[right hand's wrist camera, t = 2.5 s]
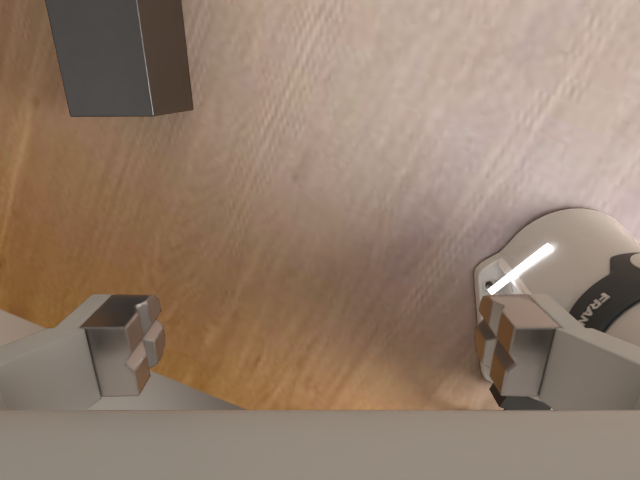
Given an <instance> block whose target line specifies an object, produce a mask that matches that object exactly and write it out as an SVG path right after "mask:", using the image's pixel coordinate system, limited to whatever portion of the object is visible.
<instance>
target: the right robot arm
mask: <svg viewBox="0 0 640 480" xmlns="http://www.w3.org/2000/svg"><path fill="white" fill-rule="evenodd" d="M487 281H490V283H489V284H488V285H485V283H486V282H487ZM474 282H475V296H476V310H477V324H478V325H477V326H476V331H475V347H476V351H477V355H478V357H479V359H480V366H481V373H482V375H483V376H484V377H485V379H486V380H488V381H489V382H491V383H493V385H492V386H491V387H490V391H491V393H492V395H493V397H494V398H495V400H496V402H497V404H498V406H499V407H501V408H504V410H87V409H88V408H89V407H91V406H92V405H93V404H95V403H96V402H97V401H99V400H100V399H101V397H116V396H139V395H140V393H141V391H142V390H143V388H144V386H145V385H146V383H147V381H148V379H149V378H150V370H149V369H150V368H152V367H153V366H155V365H156V364H158V363H159V361H160V359H161V357H162V355H163V351H164V347H165V331H164V326H163V325H162V324H161V323H160V322H159V321H158V320H157V319H156V318H157V317H158V315H159V314H160V312H161V307H160V302H159V299H158V298H157V296H156V295H130V294H116V295H115V294H95V295H91V296H90V297H89V298H88V299H86V300H85V301H84V302H83V303H82V304H81V305H80V306H79V307H77V308H76V309H75V310H74V311H73V312H72V313H71V314H70V315H69V316H67V317H66V318H65V319H64V320H63V321H62V322H61V323H60V324H58V325H57V326H56V327H55V328H47V329H44V330H42V331H40V332H37V333H34V334H32V335H29V336H27V337H24V338H22V339H19V340H17V341H14V342H12V343H9V344H7V345H4V346H2V347H0V480H640V244H639V243H638V242H637V241H636V240H634V239H633V238H632V237H631V236H630V235H629V234H628V233H627V232H626V230H625V229H624V228H623V227H622V226H621V224H620V223H619V222H617V221H616V220H615V219H614V218H612V217H611V216H609V215H607V214H605V213H602V212H599V211H596V210H592V209H584V208H573V209H565V210H560V211H556V212H553V213H550V214H547V215H545V216H543V217H540V218H538V219H537V220H535V221H533V222H531V223H530V224H529V225H527V226H526V227H524V228H523V229H522V230H521V231H520V232H518V233H517V234H516V235H515V236H514V237H513V239H512V240H511V241H510V242H509V243H508V244H507V245H506V246H505V247H504V248H503V249H502V250H501V251H500V252H499V253H497V254H495V255H493V256H491V257H489V258H488V259H486V260H484V261H483V262H481V263H480V264H479V265H478V266H477V267H476V268H475V271H474ZM551 408H552V409H553V410H550V409H551Z"/></svg>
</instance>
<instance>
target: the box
mask: <svg viewBox="0 0 640 480" xmlns="http://www.w3.org/2000/svg"><path fill="white" fill-rule="evenodd" d="M45 2H46V6H47V11H48V16H49V20H50V25H51V29H52V34H53V39H54V43H55V48H56V52H57V57H58V62H59V66H60V71H61V75H62V80H63V85H64V89H65V94H66V98H67V103H68V108H69V112H70V116H71V117H113V116H158V115H164V114H170V113H177V112H183V111H189V110H193V102H192V93H191V84H190V76H189V67H188V58H187V49H186V40H185V31H184V22H183V13H182V4H181V0H45Z"/></svg>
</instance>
